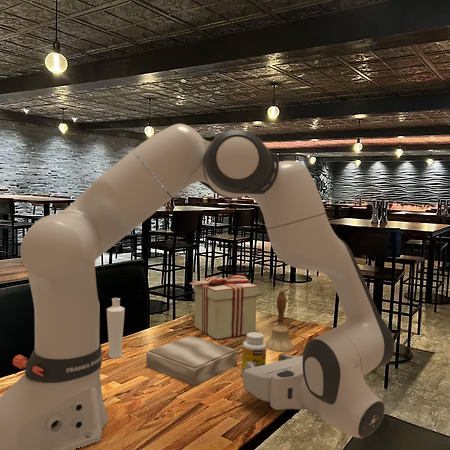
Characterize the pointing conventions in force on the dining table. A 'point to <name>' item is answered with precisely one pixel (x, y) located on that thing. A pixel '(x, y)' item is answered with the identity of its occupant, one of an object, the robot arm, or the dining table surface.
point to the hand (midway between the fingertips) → (265, 360)
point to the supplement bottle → (254, 350)
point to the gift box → (225, 306)
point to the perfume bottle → (115, 328)
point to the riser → (192, 359)
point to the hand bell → (280, 329)
